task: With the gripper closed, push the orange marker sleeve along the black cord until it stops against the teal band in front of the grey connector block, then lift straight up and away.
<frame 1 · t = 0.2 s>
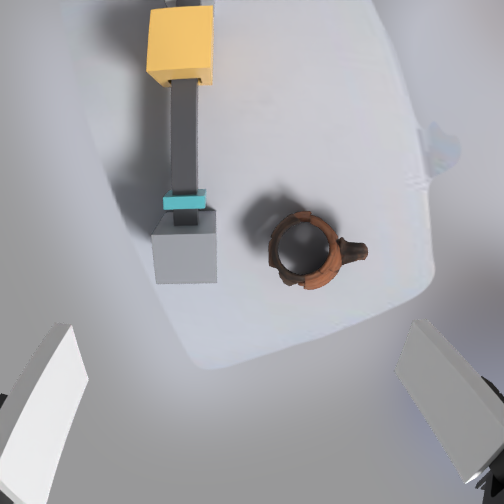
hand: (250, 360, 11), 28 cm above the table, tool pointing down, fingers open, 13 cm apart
marker sleeve: (184, 49, 24), point 7 cm above the table, slide at 0.0 cm
cord rail: (189, 114, 32), on the table
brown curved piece: (310, 244, 40), on the table
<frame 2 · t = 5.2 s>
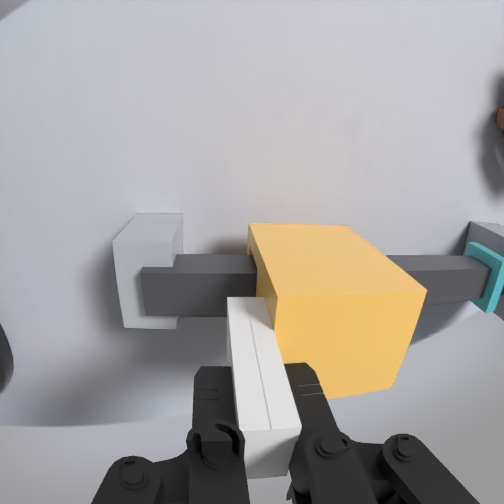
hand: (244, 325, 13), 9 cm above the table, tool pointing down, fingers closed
marker sleeve: (315, 299, 15), point 7 cm above the table, slide at 0.5 cm, touching gripper
cord rail: (358, 251, 22), on the table
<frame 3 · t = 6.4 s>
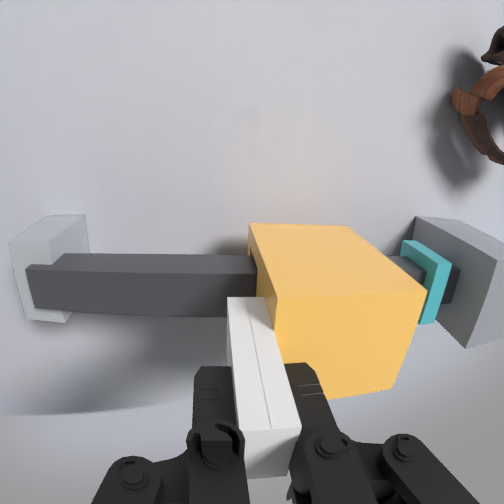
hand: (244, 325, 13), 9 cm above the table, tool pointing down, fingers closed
marker sleeve: (316, 299, 15), point 7 cm above the table, slide at 7.4 cm, touching gripper
cord rail: (267, 251, 21), on the table
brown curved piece: (481, 94, 19), on the table
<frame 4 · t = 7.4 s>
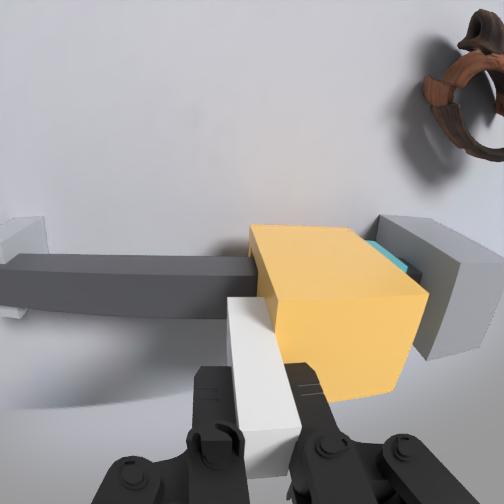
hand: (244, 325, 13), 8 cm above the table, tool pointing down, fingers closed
marker sleeve: (317, 302, 15), point 7 cm above the table, slide at 10.9 cm, touching gripper
cord rail: (215, 251, 21), on the table
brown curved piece: (459, 84, 18), on the table
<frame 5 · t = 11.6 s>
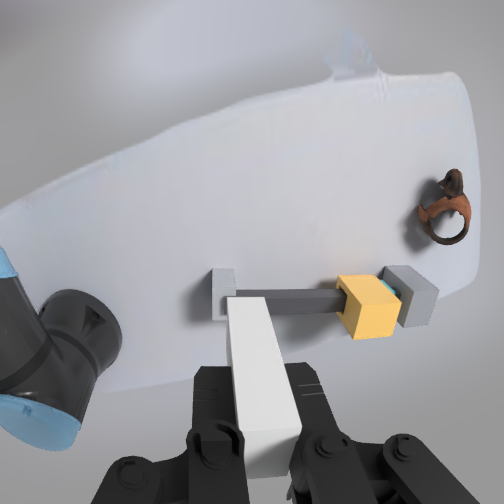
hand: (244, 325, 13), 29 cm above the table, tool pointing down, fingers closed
marker sleeve: (364, 305, 41), point 7 cm above the table, slide at 11.2 cm
cord rail: (316, 284, 46), on the table
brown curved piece: (437, 200, 44), on the table
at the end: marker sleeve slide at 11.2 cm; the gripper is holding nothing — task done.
